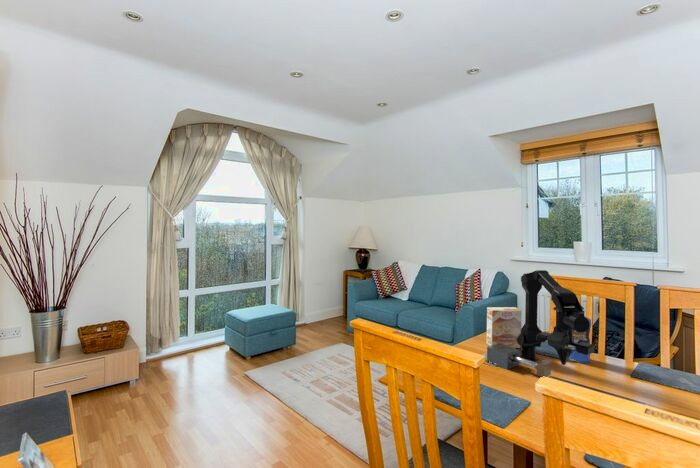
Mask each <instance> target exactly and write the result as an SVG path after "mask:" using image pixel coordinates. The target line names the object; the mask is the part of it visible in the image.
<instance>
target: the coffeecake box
mask: <svg viewBox="0 0 700 468" xmlns="http://www.w3.org/2000/svg"><path fill="white" fill-rule="evenodd" d="M521 328H522V309H519V308H518V307H516V306H514V307H513V306H504V307H503V306H497V307H496V306H495V307H492V306H487V307H486V345H487V347H489V346H492V345H495V344H499V343H500V344H503V345H506V346H509V347H513V348H518V347H521V346H520V345H519V344H517V338H518V337H519V335H520V334H521ZM521 348H522V347H521Z"/></svg>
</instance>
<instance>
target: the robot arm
mask: <svg viewBox="0 0 700 468" xmlns="http://www.w3.org/2000/svg"><path fill="white" fill-rule="evenodd" d="M520 282H521V287H522V289H523V290H524V292H525V311H524V312H525V314H524V319H525V321H524V324H523V326H521V334H520V335H519V337H518V338H517V344H519V345H520V346H521V349H520V352H521V353H520V358H523V359H526V360H529V361H532V362H536V361H538V360H539V359H540V358H539V357H537V356H536V354H537V352H536V351H537V347H538V348H541V345H542V343H545V342H547V345H548V346H549V347H552V348H553V349H554V350H555V351H556V353H557V355H558V358H559V360H560V363H561V365H563V366H565V365H566V364H567V362H568V359H569V357H570V355H571V354H572V352H573V351H575V350H576V351H577V352H578V353H582V354H585V355H589V354H590V355H591V354H593V353H595V349H596V348H595V346H594V344H592V343H590V344H589V343H586V342H580V343H574V342H573V341H575V338H573V330H575V331H577V332H580V333H583V332H586V331H587V330H588V329H589V327H590V323H589V321H588V319H587V318H588V317H587V318H585V317H586V316H585V312H584V313H580V312H583V311H582V307H583V306H582V305H581V303H580V301H579V299H578V296H577V295H576V293H575V292H573V291H572V290H570V289H568V288H566V287H563V286H561V284H559V283H558V282H557V281H556V280H555V279H554V278H553V277H552V276H551V275H550V273H549V271H547V270H545V269H544V270H543V269H542V270H539V269H537V270H534V271H532V272H527V273H523V275H521V276H520ZM543 287H544V289H545V290H546V291H547V292H548V293H549V294H550V296H551V297H550V300H551V301H552V302H553V304H554V307H553V308H552V310H554V311H555V326H553V331H552V332H546V331H542V330H541V329H540V327H539V325H538V305H539V304H538V303H539V302H538V300H539V299H538V298H539V297H538V296H539V292H540V291H541V290H542V289H543ZM581 306H582V307H581ZM584 316H585V317H584Z"/></svg>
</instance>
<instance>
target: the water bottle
mask: <svg viewBox="0 0 700 468" xmlns="http://www.w3.org/2000/svg"><path fill="white" fill-rule="evenodd" d="M581 307H582V311H583V312H580V313H584V314H585V310H584V307H583V306H582V305H581ZM584 317H585V318H587V319H588V321H589V323H590V327H589V329H588V330H587V331H586V332H583V333H580V332H577V331H575V330H573V338H575V341H573V342H574V343H580V342H586V343H589V344H591V339H590V338H591V337H590V332H591V328H592V319H591V318H589V317H587V316H585V315H584ZM569 358H571V359H574V360H576V361H577V362H578V363H577V362H576V363H577V364H589V363H588V362H590V363H591V354H589V355H585V354H582V353H578V352H577V351H576V350H575V351H573V352H572V354H571V355H570V357H569Z"/></svg>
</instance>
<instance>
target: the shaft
mask: <svg viewBox="0 0 700 468" xmlns="http://www.w3.org/2000/svg"><path fill="white" fill-rule="evenodd" d="M511 360H512V361H515V362H517V363H520V364H519V365H524V366H527V367H529V368H532V369H535V370H536V375H537V376H538V377H541V378H543V377H542V376H546V377H548V376H551V374H552V362H551V361H549V360H545V359H542V360H539V361H537V362H536V361H533V362H532V361H529V360H526V359H523V358H520V357H517V356H514V355H511Z"/></svg>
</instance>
